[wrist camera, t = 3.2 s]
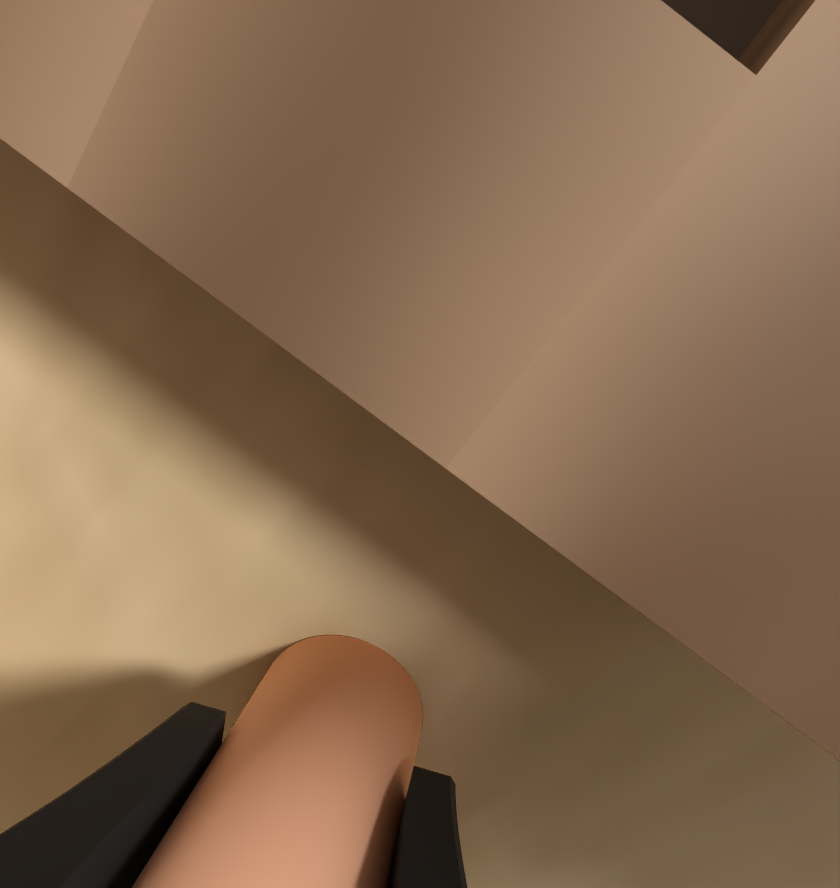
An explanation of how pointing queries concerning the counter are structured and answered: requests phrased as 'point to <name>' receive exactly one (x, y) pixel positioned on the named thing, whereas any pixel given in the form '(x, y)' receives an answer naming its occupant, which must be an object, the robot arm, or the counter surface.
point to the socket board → (516, 260)
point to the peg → (302, 778)
